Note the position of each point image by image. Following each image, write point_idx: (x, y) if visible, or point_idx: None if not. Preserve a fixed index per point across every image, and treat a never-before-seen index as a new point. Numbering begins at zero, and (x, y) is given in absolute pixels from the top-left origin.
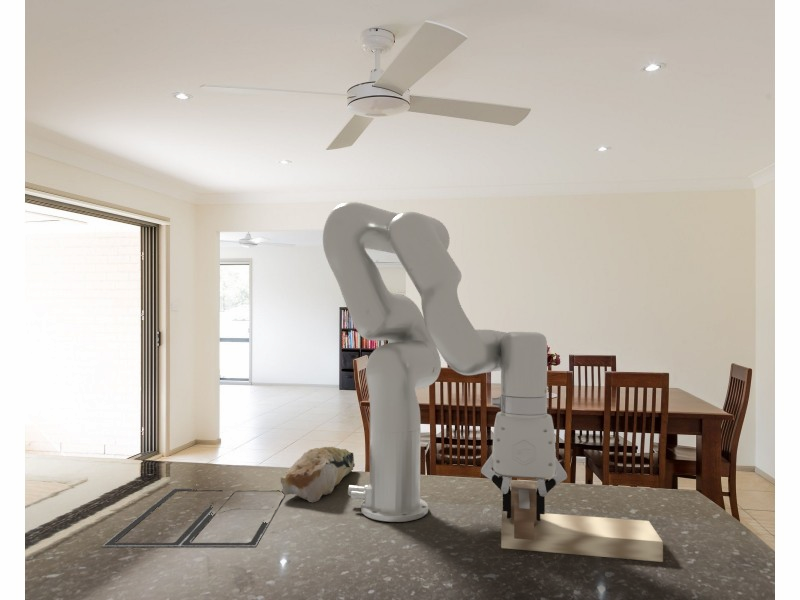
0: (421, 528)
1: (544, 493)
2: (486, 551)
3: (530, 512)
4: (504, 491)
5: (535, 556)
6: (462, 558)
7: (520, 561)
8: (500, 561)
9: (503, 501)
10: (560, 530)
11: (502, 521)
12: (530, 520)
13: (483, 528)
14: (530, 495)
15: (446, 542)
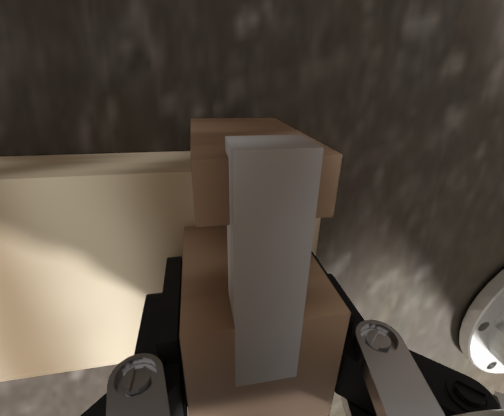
0: (496, 227)
1: (125, 374)
2: (349, 107)
3: (215, 144)
4: (374, 331)
5: (184, 101)
6: (435, 24)
7: (239, 38)
8: (311, 23)
9: (345, 299)
10: (73, 212)
11: (314, 241)
12: (211, 135)
13: (339, 275)
14: (221, 317)
15: (456, 150)
